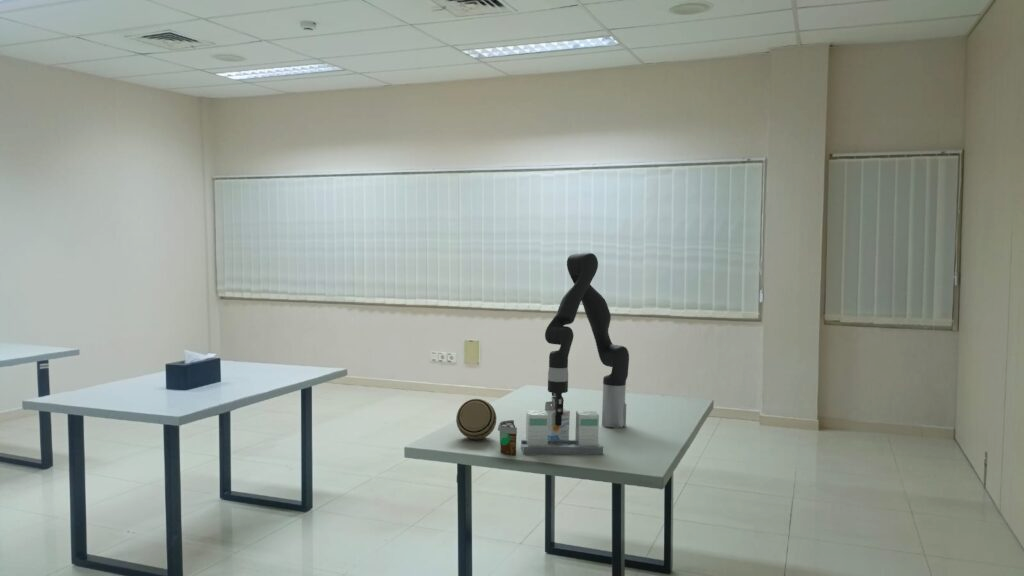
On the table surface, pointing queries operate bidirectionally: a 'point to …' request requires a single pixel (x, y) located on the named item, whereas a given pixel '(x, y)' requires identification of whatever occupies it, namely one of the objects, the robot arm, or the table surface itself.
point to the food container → (508, 437)
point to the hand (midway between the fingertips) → (556, 423)
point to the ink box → (554, 430)
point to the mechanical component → (476, 419)
